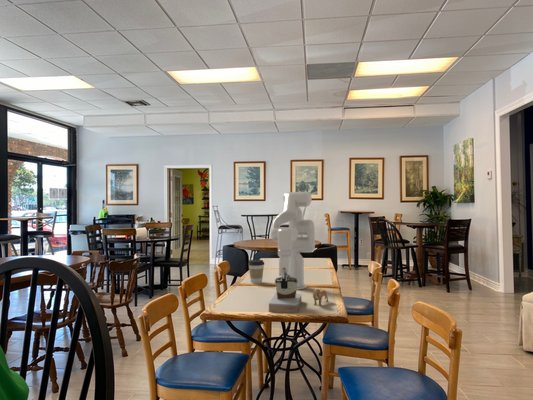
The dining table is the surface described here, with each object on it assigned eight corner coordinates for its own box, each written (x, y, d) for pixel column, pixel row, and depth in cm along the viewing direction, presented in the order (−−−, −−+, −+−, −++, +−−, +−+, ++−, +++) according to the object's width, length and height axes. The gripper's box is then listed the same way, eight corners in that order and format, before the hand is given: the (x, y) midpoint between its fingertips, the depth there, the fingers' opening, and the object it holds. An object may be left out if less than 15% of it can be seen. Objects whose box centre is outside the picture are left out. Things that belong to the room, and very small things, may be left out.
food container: (295, 294, 183) (295, 276, 182) (298, 298, 176) (298, 278, 176) (272, 295, 181) (272, 276, 181) (274, 299, 175) (274, 279, 175)
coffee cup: (265, 280, 237) (265, 259, 237) (264, 284, 226) (263, 261, 226) (249, 280, 238) (249, 259, 238) (246, 284, 227) (246, 261, 227)
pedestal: (275, 300, 188) (275, 293, 188) (301, 301, 185) (301, 293, 185) (268, 311, 168) (268, 303, 168) (297, 312, 166) (297, 304, 166)
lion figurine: (321, 308, 173) (320, 290, 173) (310, 306, 175) (310, 289, 176) (329, 300, 186) (329, 283, 186) (320, 299, 189) (319, 283, 189)
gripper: (280, 250, 187) (281, 281, 187) (275, 255, 170) (275, 290, 170) (294, 250, 185) (294, 282, 185) (290, 255, 168) (290, 290, 168)
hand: (285, 286), depth 177 cm, fingers open, 9 cm apart
